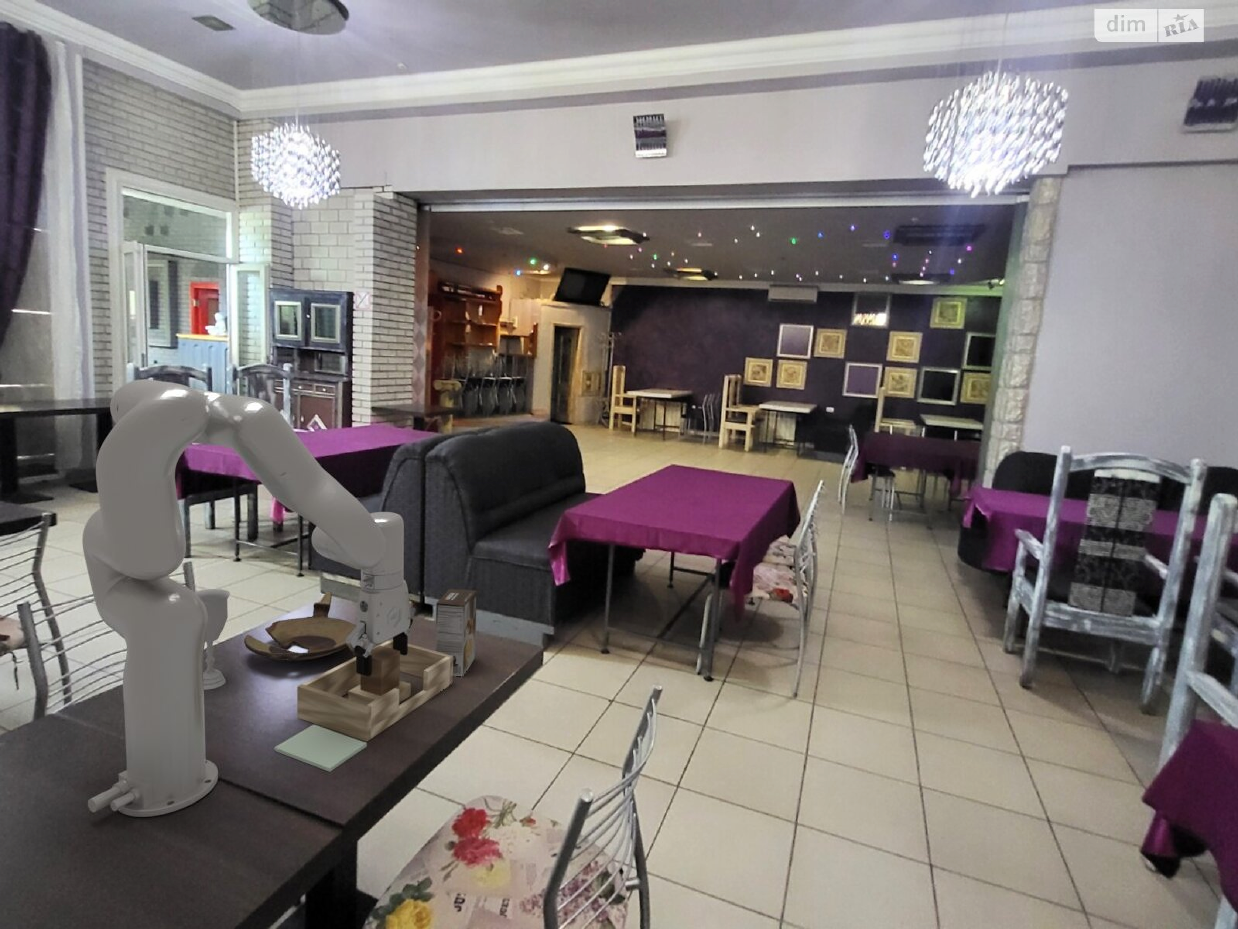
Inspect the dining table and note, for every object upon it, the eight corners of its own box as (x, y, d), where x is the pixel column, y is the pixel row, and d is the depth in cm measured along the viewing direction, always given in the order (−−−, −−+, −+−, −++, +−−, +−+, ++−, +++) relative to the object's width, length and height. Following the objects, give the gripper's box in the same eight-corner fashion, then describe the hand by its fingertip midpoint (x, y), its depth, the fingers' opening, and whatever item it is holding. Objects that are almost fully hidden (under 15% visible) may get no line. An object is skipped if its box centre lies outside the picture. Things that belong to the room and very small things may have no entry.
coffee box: (447, 656, 146) (449, 587, 144) (475, 659, 146) (478, 590, 144) (433, 675, 137) (435, 602, 135) (463, 678, 137) (466, 604, 134)
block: (381, 696, 122) (381, 661, 121) (360, 689, 124) (360, 655, 123) (399, 685, 127) (400, 651, 126) (379, 679, 129) (379, 645, 128)
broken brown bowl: (216, 670, 133) (215, 634, 132) (313, 618, 162) (313, 588, 161) (312, 688, 129) (312, 651, 128) (394, 631, 158) (395, 600, 157)
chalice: (240, 677, 131) (238, 591, 128) (215, 693, 124) (213, 603, 121) (205, 673, 131) (203, 587, 129) (179, 689, 125) (177, 599, 122)
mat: (329, 772, 103) (329, 768, 103) (274, 750, 108) (274, 747, 108) (366, 746, 111) (366, 743, 111) (313, 727, 115) (313, 724, 115)
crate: (366, 741, 112) (366, 709, 111) (297, 717, 118) (297, 686, 117) (452, 683, 134) (453, 656, 133) (390, 665, 140) (391, 639, 139)
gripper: (364, 596, 113) (364, 688, 116) (428, 569, 129) (427, 650, 132) (331, 588, 116) (332, 678, 119) (398, 562, 132) (398, 642, 135)
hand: (382, 663), depth 125 cm, fingers open, 9 cm apart
